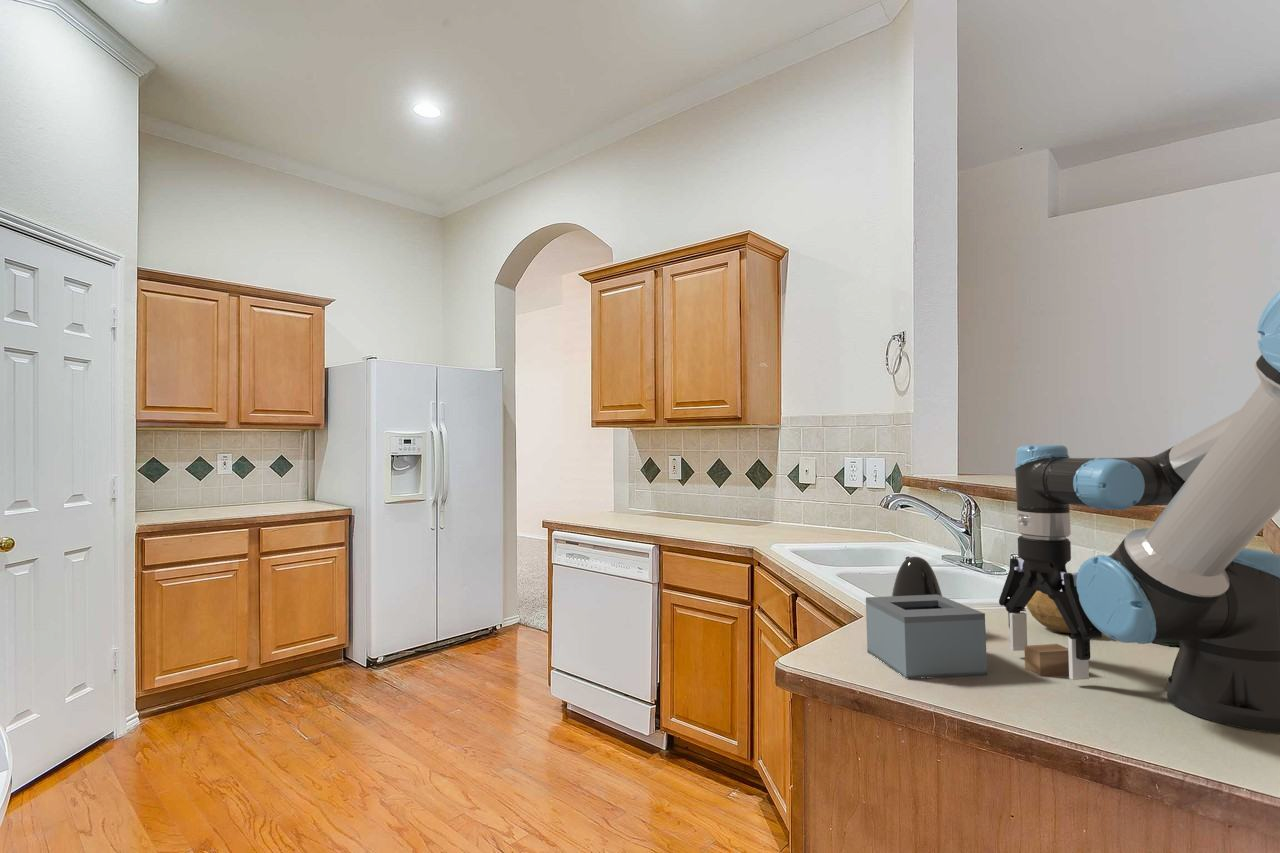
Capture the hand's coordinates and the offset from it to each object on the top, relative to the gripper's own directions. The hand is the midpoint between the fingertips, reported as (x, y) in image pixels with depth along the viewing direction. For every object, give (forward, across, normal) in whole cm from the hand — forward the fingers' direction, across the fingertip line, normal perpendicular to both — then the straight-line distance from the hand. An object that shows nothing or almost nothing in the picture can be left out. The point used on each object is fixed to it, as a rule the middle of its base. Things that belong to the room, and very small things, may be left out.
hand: (1047, 663), depth 106 cm
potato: (+2, -20, +20) cm, 28 cm away
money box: (+1, -6, -18) cm, 19 cm away
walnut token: (+1, 0, 0) cm, 1 cm away
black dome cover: (+2, -24, -9) cm, 26 cm away
